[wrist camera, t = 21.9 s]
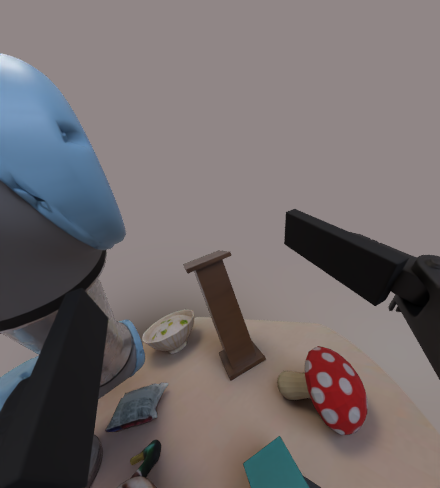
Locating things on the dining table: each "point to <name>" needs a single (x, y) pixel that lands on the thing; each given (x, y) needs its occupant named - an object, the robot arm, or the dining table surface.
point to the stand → (225, 314)
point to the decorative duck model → (144, 467)
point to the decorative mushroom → (328, 389)
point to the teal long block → (274, 468)
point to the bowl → (170, 331)
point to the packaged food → (136, 407)
